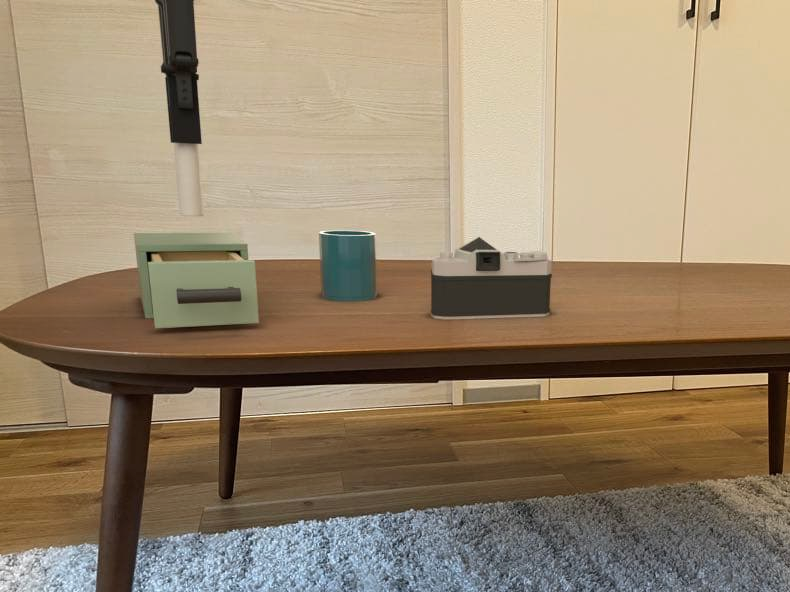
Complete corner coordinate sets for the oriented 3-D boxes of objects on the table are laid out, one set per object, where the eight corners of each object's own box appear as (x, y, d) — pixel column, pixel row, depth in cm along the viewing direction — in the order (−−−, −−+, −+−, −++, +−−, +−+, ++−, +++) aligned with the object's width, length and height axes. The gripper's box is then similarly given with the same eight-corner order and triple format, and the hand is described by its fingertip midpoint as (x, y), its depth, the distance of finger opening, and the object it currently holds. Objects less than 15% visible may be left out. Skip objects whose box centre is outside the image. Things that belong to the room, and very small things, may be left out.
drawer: (265, 330, 82) (261, 266, 80) (157, 337, 78) (150, 268, 76) (242, 303, 96) (238, 248, 94) (149, 307, 92) (143, 249, 90)
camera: (533, 307, 108) (536, 233, 105) (557, 319, 100) (561, 240, 97) (420, 310, 102) (420, 232, 99) (437, 323, 94) (437, 239, 91)
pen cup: (329, 304, 103) (326, 235, 101) (316, 295, 109) (313, 230, 107) (383, 302, 107) (382, 235, 104) (368, 293, 113) (366, 230, 110)
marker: (179, 216, 83) (168, 80, 79) (177, 214, 85) (166, 82, 81) (206, 216, 84) (196, 83, 80) (203, 214, 86) (193, 84, 82)
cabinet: (252, 315, 94) (247, 243, 92) (145, 320, 89) (137, 244, 86) (236, 297, 106) (231, 232, 103) (141, 300, 100) (133, 233, 98)
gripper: (216, -126, 71) (233, 145, 78) (199, -84, 84) (215, 145, 91) (123, -145, 67) (150, 140, 74) (120, -98, 80) (143, 141, 87)
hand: (186, 142), depth 83 cm, fingers closed on marker, 3 cm apart
